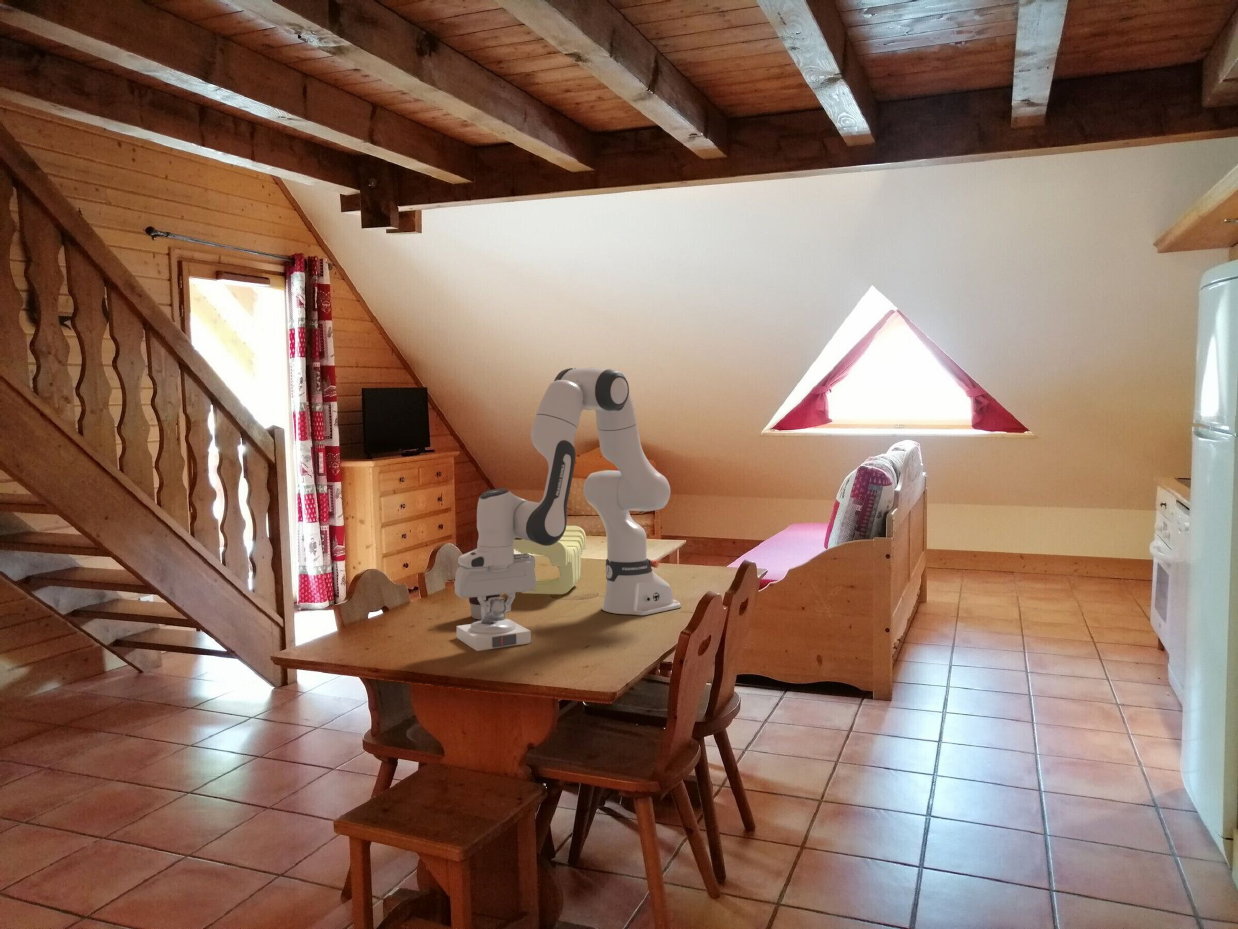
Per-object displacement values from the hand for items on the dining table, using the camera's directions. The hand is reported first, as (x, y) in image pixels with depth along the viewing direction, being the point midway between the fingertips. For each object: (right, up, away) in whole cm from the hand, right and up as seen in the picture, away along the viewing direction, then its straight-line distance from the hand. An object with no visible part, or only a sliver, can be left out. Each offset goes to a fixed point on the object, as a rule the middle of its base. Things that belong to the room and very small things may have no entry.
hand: (496, 612), depth 231 cm
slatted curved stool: (+9, -3, +62) cm, 63 cm away
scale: (-1, -7, +3) cm, 8 cm away
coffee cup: (-7, -6, +27) cm, 29 cm away
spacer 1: (-2, -3, +5) cm, 6 cm away
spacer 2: (0, -2, 0) cm, 2 cm away
